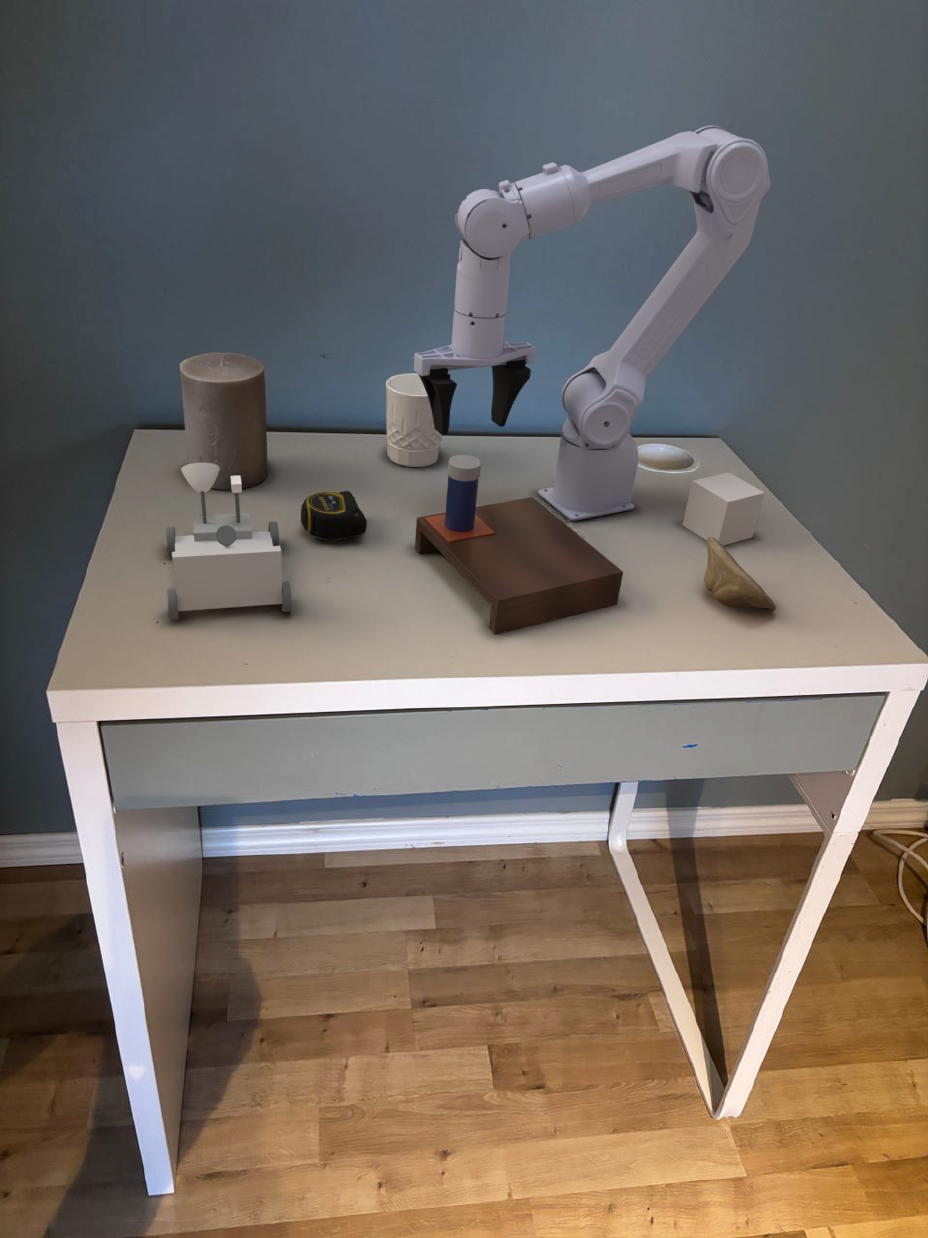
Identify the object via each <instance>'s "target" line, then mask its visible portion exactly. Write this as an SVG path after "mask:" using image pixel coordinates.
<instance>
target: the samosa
mask: <svg viewBox="0 0 928 1238" xmlns="http://www.w3.org/2000/svg"><path fill="white" fill-rule="evenodd" d="M706 545H707V564H706V569H705V571H704V578H703V581H704V584H705V587H706V589H707V590H708V591H709V592H710V593H711V594H712V595H713V597H714V598H715V599H716V600H717V601H719V602H720V603H722V604H724V605H726V606H741V607H742V606H743V607H751V608H758V609H761V608H762V609H763V608H765V609H767V610H770V611H775V610H777V606H776V604H775V602H774V600H773V599H772V598H771V597H770V596H769V595H768V593H766V591H765V590H764V589H763V588H762V586H760V585H759V583H758V582H757V581H756V580H755V579H754V578H753V577H751V575H750V574H748V573H747V572H746V570H744V568H743V567H742V566H740V564H739V563H738V562H737V561H736V559H735V558H734V557H733V556H732V554H731V553H730V552H729V551H728V550H727V549H726V548H725V546H724V545H722V544H721V543H719V541H718V540H716V539H715V538H714V537H711V536H710V537H708V539H707V541H706Z"/></svg>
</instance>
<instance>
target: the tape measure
mask: <svg viewBox="0 0 928 1238" xmlns="http://www.w3.org/2000/svg"><path fill="white" fill-rule="evenodd" d="M300 507H301V508H300V523H301V525H302V527H303V529H304V530H305V532H307V533H308V534H310V536H312V537H313V538H317V539H320V540H324V541H325V540H326V541H340V540H345V539H348V538H354V537H359V536H362V535H364V534H365V533H366V531H367V527H368V526H367V525H368V523H367V522H368V521H367V518H366V516H365V514H364V512H363V511H362V510H361V508H360V507H359V505H358V503H357V500H356V496H355V497H354V495H353V493H352V491H349V490H344V491H342V490H341V491H339V492H336V491H319V492H314V493H313V494H310V495H308V496H307V497H306V498H305V499H304V500H303V502H302V504H301V506H300Z"/></svg>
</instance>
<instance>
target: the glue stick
mask: <svg viewBox="0 0 928 1238" xmlns="http://www.w3.org/2000/svg"><path fill="white" fill-rule="evenodd" d="M481 468H482V462H481V460H480V459H479V458H477V457H475V456H473V455H468V454H455V455H453V456H451V457H449V458H448V462H447V488H446V502H445V511H444V513H445V526H446V527H447V528H448V529H450V530H453V531H457V532H466V531H469V530H471V529H473V527H474V521H475V511H476V507H477V498H478V491H479V490H478V489H479V478H480V476H481Z"/></svg>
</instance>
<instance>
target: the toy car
mask: <svg viewBox="0 0 928 1238" xmlns="http://www.w3.org/2000/svg"><path fill="white" fill-rule="evenodd" d="M219 470H220V467H219V466H218V465H215V464H212V463H202V456H198V463H192V464H188V463H187V464H185V465H183V466H182V467H181V468H180V471H181V473H182V475H183V477H184V479H185V480H186V481H187V483H188V484H189V486H190V487H191V488H192V489H193V490H194V491H195V492H197V493H198V494H200V504H201V505H200V506H201V514H195V515H192V525H193V535H190V534H189V535H176V529H175V526H167V527H166V528H165V535H166V536H165V538H166V547H167V555H168V556H171V558H172V568H173V570H172V571H173V578H174V579H173V580H174V588H167V590H166V591H167V592H166V595H167V597H166V598H167V609H168V610H167V611H168V619H169V620H170V621H176V620H179V619H180V612H183V611H198V610H200V611H201V610H212V609H228V608H242V607H243V608H244V607H254V606H255V607H256V606H269V605H270V606H271V605H280V606H281V610H282V613H283V612H284V613H285V612H286V613H287V612H291V611H292V608H293V604H292V603H293V602H292V601H293V600H292V589H291V584H290V583H291V582H290V581H288V580H285V581H283V565H282V563H283V562H282V548H281V545H280V535H279V534H280V533H279V525H278V522H277V521H269V522H268V530H267V531H253V528H252V522H251V516H250V514H251V513H250V512H240V510H241V509H240V494H242V493H243V488H242V484H241V477H240V476H237V475H234V476H231V488H232V489H231V493H232V494H234V503H235V504H234V505H235V513H216V514H215V513H214V514H207V508H206V495H205V494H206V493H207V492H209V491H210V490H211V489H212V488H211V487H212V486H213V484H214V482H215V480H216V478H217V476H218V473H219Z"/></svg>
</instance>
